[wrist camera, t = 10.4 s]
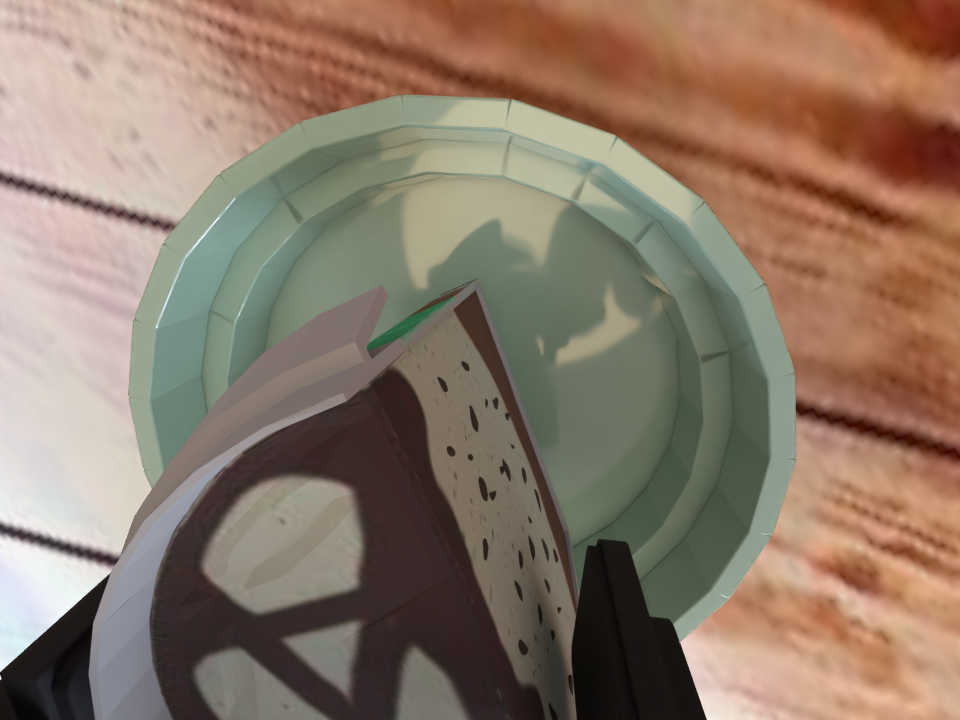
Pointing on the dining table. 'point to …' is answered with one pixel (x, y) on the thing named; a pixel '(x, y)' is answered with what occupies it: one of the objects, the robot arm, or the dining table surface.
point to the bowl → (506, 314)
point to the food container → (350, 540)
